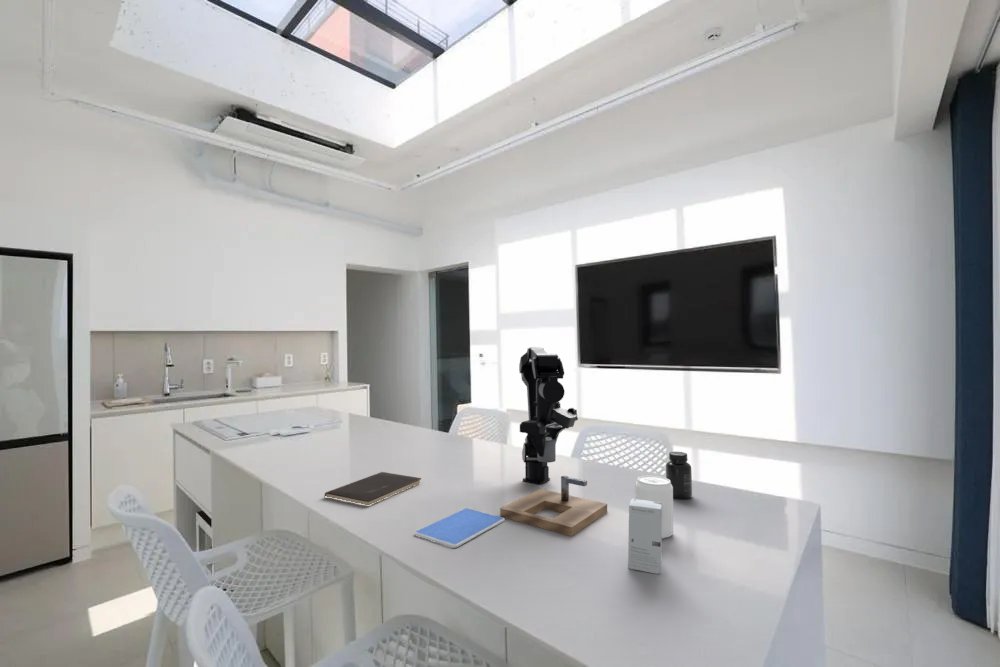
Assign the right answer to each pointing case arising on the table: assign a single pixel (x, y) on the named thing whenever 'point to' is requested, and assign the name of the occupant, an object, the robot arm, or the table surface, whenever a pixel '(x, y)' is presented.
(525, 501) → the base board
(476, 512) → the tablet computer
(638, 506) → the skincare box
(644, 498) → the beverage can
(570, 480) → the hook post
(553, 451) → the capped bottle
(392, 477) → the hardcover book
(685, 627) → the table surface
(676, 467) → the supplement bottle
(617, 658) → the table surface
